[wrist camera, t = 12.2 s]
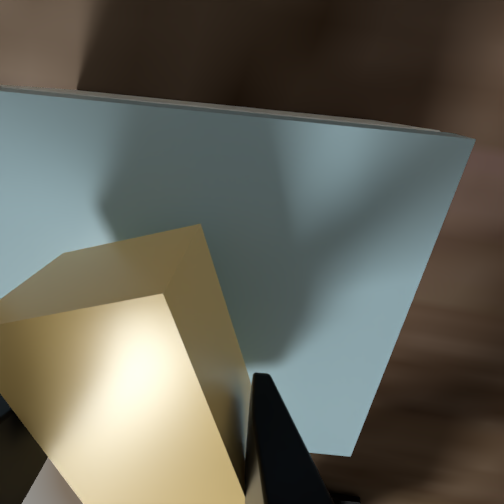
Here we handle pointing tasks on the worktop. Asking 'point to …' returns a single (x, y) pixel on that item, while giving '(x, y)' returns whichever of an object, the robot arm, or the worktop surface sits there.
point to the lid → (245, 225)
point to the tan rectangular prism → (131, 372)
